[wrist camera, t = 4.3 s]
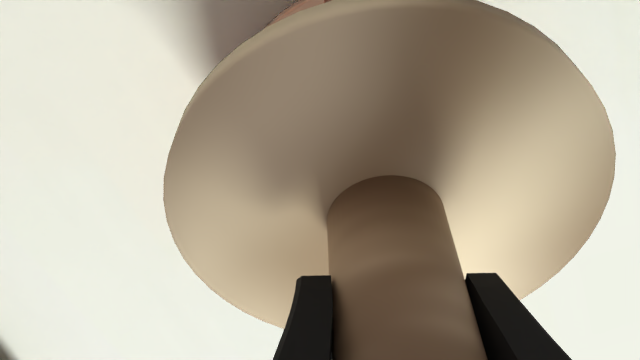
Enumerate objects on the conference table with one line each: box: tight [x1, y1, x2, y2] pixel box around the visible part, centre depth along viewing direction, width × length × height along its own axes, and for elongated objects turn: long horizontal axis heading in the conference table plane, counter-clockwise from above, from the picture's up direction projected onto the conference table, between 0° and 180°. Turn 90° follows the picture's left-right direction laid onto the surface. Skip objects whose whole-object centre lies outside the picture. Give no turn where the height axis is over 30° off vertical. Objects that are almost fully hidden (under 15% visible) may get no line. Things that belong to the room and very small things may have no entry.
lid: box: [163, 0, 616, 360], centre depth 11 cm, size 10×10×6 cm
